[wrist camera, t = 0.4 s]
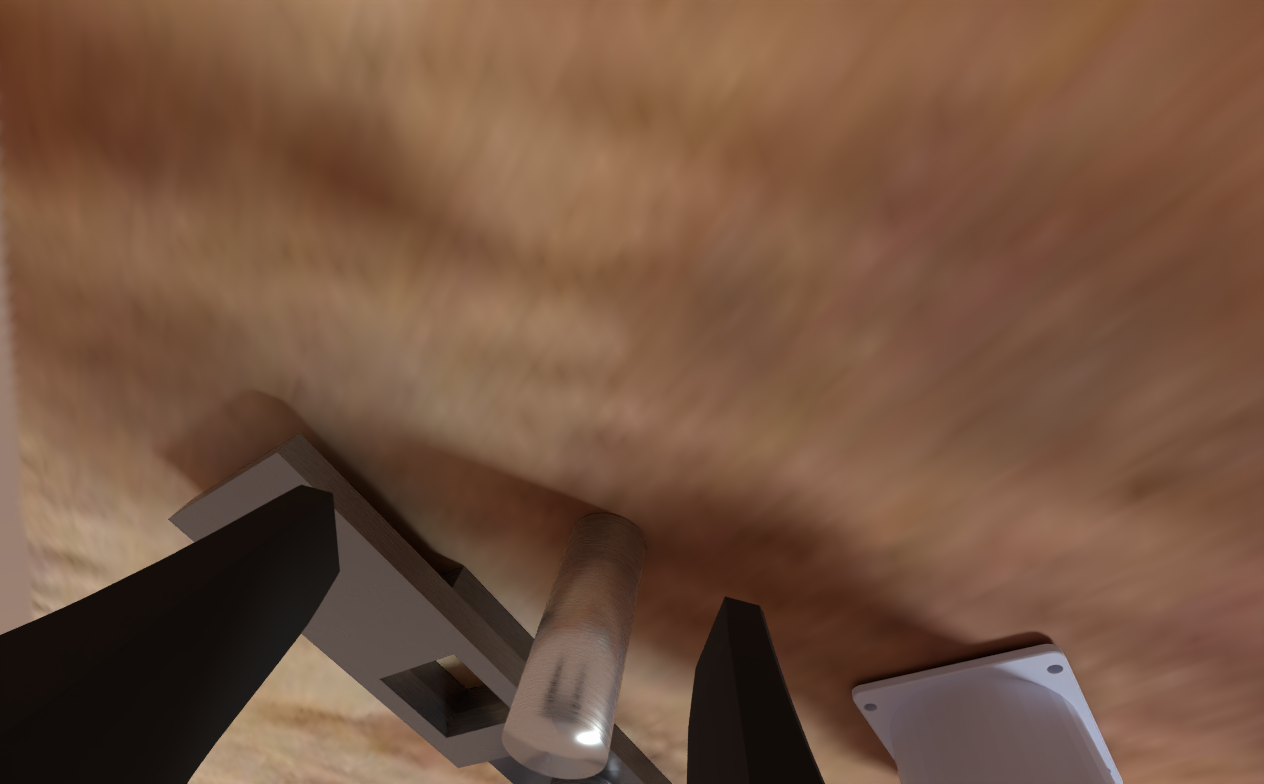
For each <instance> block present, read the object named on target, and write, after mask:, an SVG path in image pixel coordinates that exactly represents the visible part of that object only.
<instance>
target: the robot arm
mask: <svg viewBox="0 0 1264 784" xmlns="http://www.w3.org/2000/svg"><path fill="white" fill-rule="evenodd" d="M339 572H340V566H339V554H338V543H337V532H336V520H335V509H334V498H333V493H331V492H327V491H324V490H320V489H316V488H312V487H309V486H305V485H299V486H297V487H295V488H293V489H292V490H290V491H288V492H286V493H284V494H282V495H280V496H278V497H277V498H275V499H273V500H271V501H269V502H268V503H266V504H264V505H262V506H260V507H259V508H257V509H255V510H253V511H251V512H249V513H248V514H246V515H244V516H242V517H240V518H239V519H237V520H235V521H233V522H231V523H229V524H228V525H226V526H224V527H222V528H220V529H219V530H217V531H215V532H213V533H211V534H209V535H207V536H206V537H204V538H202V539H200V540H198V541H196V542H194V543H192V544H191V545H189V546H187V547H185V548H183V549H181V550H179V551H177V552H176V553H174V554H172V555H170V556H168V557H166V558H164V559H162V560H160V561H158V562H156V563H154V564H152V565H150V566H148V567H146V568H144V569H142V570H140V571H138V572H136V573H134V574H132V575H130V576H128V577H126V578H124V579H122V580H120V581H118V582H116V583H114V584H112V585H110V586H108V587H106V588H104V589H102V590H100V591H98V592H96V593H94V594H92V595H90V596H87V597H85V598H83V599H81V600H79V601H77V602H75V603H72V604H70V605H68V606H66V607H64V608H62V609H59V610H57V611H55V612H53V613H50V614H48V615H46V616H44V617H41V618H39V619H37V620H35V621H32V622H30V623H27V624H25V625H23V626H21V627H18V628H16V629H13V630H11V631H9V632H6V633H4V634H2V635H0V784H187V783H188V781H189V780H190V778H191V777H192V775H193V774H194V772H195V771H196V770H197V768H198V767H199V765H200V764H201V763H202V761H203V760H204V759H205V757H206V756H207V754H208V753H209V752H210V750H211V749H212V748H213V746H214V745H215V743H216V742H217V741H218V740H219V738H220V737H221V736H222V734H223V733H224V732H225V731H226V729H227V728H228V727H229V725H230V724H231V723H232V722H233V720H234V719H235V718H236V717H237V715H238V714H239V713H240V711H241V710H242V709H243V708H244V706H245V705H246V704H247V702H248V701H249V700H250V699H251V697H252V696H253V695H254V694H255V692H256V691H257V690H258V688H259V687H260V686H261V685H262V683H263V682H264V681H265V679H266V678H267V677H268V676H269V674H270V673H271V672H272V670H273V669H274V668H275V667H276V665H277V664H278V663H279V661H280V660H281V659H282V658H283V656H284V655H285V654H286V652H287V651H288V650H289V649H290V647H291V646H292V645H293V643H294V642H295V641H296V639H297V638H298V637H299V635H300V634H301V633H302V631H303V630H304V629H305V628H306V626H307V625H308V624H309V622H310V620H311V619H312V617H313V616H314V614H315V612H316V611H317V609H318V608H319V606H320V604H321V603H322V601H323V600H324V598H325V596H326V594H327V593H328V591H329V589H330V588H331V586H332V584H333V582H334V581H335V579H336V577H337V576H338V574H339ZM852 697H853V701H854V703H855V704H856V706H857V707H858V709H859V710H860V712H861V713H862V714H863V716H864V717H865V719H866V720H867V722H868V723H869V725H870V726H871V727H872V729H873V730H874V732H875V733H876V735H877V736H878V738H879V739H880V740H881V742H882V743H883V745H884V746H885V748H886V749H887V751H888V752H889V753H890V755H891V756H892V758H893V759H894V761H895V762H896V764H897V768H898V773H899V777H900V782H901V784H1123V781H1122V779H1121V776H1120V774H1119V772H1118V770H1117V768H1116V766H1115V763H1114V761H1113V759H1112V757H1111V755H1110V752H1109V750H1108V748H1107V746H1106V744H1105V742H1104V739H1103V737H1102V735H1101V733H1100V731H1099V729H1098V726H1097V724H1096V722H1095V720H1094V718H1093V715H1092V713H1091V711H1090V709H1089V707H1088V705H1087V702H1086V700H1085V698H1084V696H1083V694H1082V691H1081V689H1080V687H1079V685H1078V683H1077V681H1076V678H1075V676H1074V674H1073V672H1072V670H1071V667H1070V665H1069V663H1068V661H1067V659H1066V657H1065V655H1064V653H1063V651H1062V649H1061V648H1060V647H1059V646H1056V645H1054V644H1042V645H1037V646H1033V647H1028V648H1024V649H1019V650H1015V651H1010V652H1006V653H1001V654H997V655H992V656H988V657H983V658H979V659H974V660H970V661H966V662H961V663H957V664H952V665H948V666H943V667H939V668H934V669H930V670H925V671H921V672H916V673H912V674H907V675H903V676H898V677H894V678H889V679H885V680H880V681H876V682H871V683H867V684H862V685H859V686H856V687H855V688H854V689H853V690H852ZM687 784H825V783H824V780H823V778H822V776H821V773H820V771H819V769H818V766H817V764H816V761H815V759H814V757H813V754H812V752H811V749H810V747H809V744H808V742H807V739H806V736H805V734H804V731H803V729H802V726H801V724H800V721H799V718H798V716H797V713H796V711H795V708H794V705H793V703H792V700H791V697H790V694H789V692H788V689H787V686H786V683H785V680H784V677H783V674H782V671H781V668H780V665H779V663H778V659H777V656H776V653H775V650H774V647H773V644H772V641H771V637H770V634H769V631H768V627H767V624H766V620H765V617H764V613H763V611H762V609H761V608H760V606H759V605H755V604H751V603H747V602H743V601H740V600H736V599H732V598H728V597H725V598H724V600H723V603H722V605H721V608H720V610H719V612H718V615H717V617H716V620H715V622H714V625H713V627H712V629H711V632H710V634H709V637H708V639H707V641H706V644H705V646H704V649H703V651H702V654H701V656H700V658H699V661H698V663H697V666H696V670H695V678H694V685H693V693H692V701H691V709H690V718H689V727H688V760H687Z"/></svg>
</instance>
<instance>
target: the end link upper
mask: <svg viewBox="0 0 1264 784" xmlns="http://www.w3.org/2000/svg"><path fill="white" fill-rule="evenodd" d="M299 485H305V486H309V487H312V488H316V489H320V490H324V491H327V492H331V493H333V498H334V509H335V520H336V532H337V543H338V554H339V566H340V572H339V574H338V576H337V577H336V579H335V581H334V582H333V584H332V586H331V588H330V589H329V591H328V593H327V594H326V596H325V598H324V600H323V601H322V603H321V604H320V606H319V608H318V609H317V611H316V612H315V614H314V616H313V617H312V619H311V620H310V622H309V624H308V625H307V626H306V628H305V629H304V630H303V631H302V633H301V634H302V635H304V636H305V637H306V638H307V639H308V640H309V641H311V642H312V643H313V644H314V645H315V646H316V647H318V648H319V649H320V650H321V651H322V652H323V653H325V654H326V655H327V656H328V657H329V658H330V659H332V660H333V661H334V662H335V663H336V664H337V665H339V666H340V667H341V668H342V669H343V670H344V671H346V672H347V673H348V674H349V675H350V676H351V677H353V678H354V679H355V680H356V681H357V682H358V683H360V684H361V685H362V686H363V687H364V688H365V689H367V690H368V691H369V692H370V693H371V694H372V695H374V696H375V697H376V698H377V699H378V700H379V701H381V702H382V703H383V704H384V705H385V706H386V707H388V708H389V709H390V710H391V711H392V712H393V713H395V714H396V715H397V716H398V717H399V718H400V719H402V720H403V721H404V722H405V723H406V724H407V725H409V726H410V727H411V728H412V729H413V730H414V731H416V732H417V733H418V734H419V735H420V736H421V737H423V738H424V739H425V740H426V741H427V742H428V743H430V744H431V745H432V746H433V747H434V748H435V749H437V750H438V751H439V752H440V753H441V754H442V755H444V756H445V757H446V758H447V759H448V760H449V761H451V762H452V763H453V764H454V765H455V766H456V767H458V768H461V767H465V766H469V765H474V764H478V763H482V762H487V761H491V760H495V759H500V758H504V757H509V756H511V755H510V754H509V753H508V752H507V750H506V749H505V747H504V745H503V742H502V732H503V729H504V726H505V723H506V721H507V718H508V715H509V712H510V709H511V706H512V703H513V700H514V697H515V694H516V691H517V689H518V686H519V683H520V680H521V677H522V674H523V671H524V668H525V665H526V663H525V662H524V661H523V660H522V659H521V658H520V657H519V656H518V655H517V653H516V652H515V651H514V650H513V649H512V648H511V647H510V646H509V645H508V644H507V643H506V642H505V641H504V640H503V639H502V638H501V637H500V636H499V635H498V634H497V633H496V632H495V631H494V630H493V629H492V628H491V627H490V626H489V625H488V624H487V623H486V622H485V621H484V620H483V619H482V618H481V617H480V616H479V615H478V614H477V613H476V612H475V611H474V610H473V609H472V608H471V607H470V606H469V605H468V604H467V603H466V602H465V601H464V600H463V599H462V598H461V597H460V596H459V594H458V593H457V592H456V591H455V590H454V589H453V588H452V587H451V586H450V585H449V584H448V583H447V582H446V581H445V580H444V579H443V578H442V577H441V576H440V575H439V574H438V573H437V572H436V571H435V570H434V569H433V568H432V567H431V566H430V565H429V564H428V563H427V562H426V561H425V560H424V559H423V558H422V557H421V556H420V555H419V554H418V553H417V552H416V551H415V550H414V549H413V548H412V547H411V546H410V545H409V544H408V543H407V542H406V541H405V540H404V539H403V538H402V537H401V536H400V534H399V533H398V532H397V531H396V530H395V529H394V528H393V527H392V526H391V525H390V524H389V523H388V522H387V521H386V520H385V519H384V518H383V517H382V516H381V515H380V514H379V513H378V512H377V511H376V510H375V509H374V508H373V507H372V506H371V505H370V504H369V503H368V502H367V501H366V500H365V499H364V498H363V497H362V496H361V495H360V494H359V493H358V492H357V491H356V490H355V489H354V488H353V487H352V486H351V485H350V484H349V483H348V482H347V481H346V480H345V479H344V478H343V477H342V475H341V474H340V473H339V472H338V471H337V470H336V469H335V468H334V467H333V466H332V465H331V464H330V463H329V462H328V461H327V460H326V459H325V458H324V457H323V456H322V455H321V454H320V453H319V452H318V451H317V450H316V449H315V448H314V447H313V446H312V445H311V444H310V443H309V442H308V441H307V440H306V439H305V438H304V437H303V436H302V435H301V434H300V433H299V434H297V435H295V436H294V437H292V438H291V439H289V440H287V441H286V442H284V443H282V444H281V445H279V446H278V447H276V448H274V449H273V450H271V451H270V452H268V453H266V454H265V455H263V456H261V457H260V458H258V459H257V460H255V461H253V462H252V463H250V464H248V465H247V466H245V467H244V468H242V469H240V470H239V471H237V472H236V473H234V474H232V475H231V476H229V477H227V478H226V479H224V480H223V481H221V482H219V483H218V484H216V485H215V486H213V487H211V488H210V489H208V490H206V491H205V492H203V493H202V494H200V495H198V496H197V497H195V498H194V499H192V500H191V501H190V502H188V503H187V504H186V505H185V506H184V507H182V508H181V509H180V510H179V511H177V512H176V513H175V514H174V515H173V516H171V517H170V518H169V519H168V520H169V521H171V522H172V523H173V524H174V525H175V526H176V527H178V528H179V529H180V530H181V531H182V532H183V533H185V534H186V535H187V536H188V537H189V538H190V539H192V540H193V541H194V542H196V541H198V540H200V539H202V538H204V537H206V536H207V535H209V534H211V533H213V532H215V531H217V530H219V529H220V528H222V527H224V526H226V525H228V524H229V523H231V522H233V521H235V520H237V519H239V518H240V517H242V516H244V515H246V514H248V513H249V512H251V511H253V510H255V509H257V508H259V507H260V506H262V505H264V504H266V503H268V502H269V501H271V500H273V499H275V498H277V497H278V496H280V495H282V494H284V493H286V492H288V491H290V490H292V489H293V488H295V487H297V486H299ZM453 654H454V655H455V656H456V657H457V658H458V659H459V660H460V661H462V662H463V663H464V664H465V665H466V666H467V667H468V668H469V669H470V670H471V671H472V672H473V673H474V674H475V675H476V676H477V677H478V678H479V679H480V680H481V681H482V682H483V683H484V684H486V685H487V686H488V687H489V688H490V689H491V690H492V691H493V692H494V693H495V694H496V695H497V696H498V697H499V698H500V699H501V700H502V701H500V702H496V703H493V704H489V705H485V706H482V707H478V708H475V709H471V710H467V711H464V712H460V713H456V712H455V711H454V710H453V709H452V708H450V707H449V706H448V705H447V704H446V703H445V702H444V701H443V700H442V699H441V698H439V697H438V696H437V695H436V694H435V693H434V692H433V691H432V690H431V689H430V688H428V687H427V686H426V685H425V684H424V683H423V682H422V681H421V680H420V679H418V678H417V677H416V676H415V675H414V674H413V673H412V672H411V671H410V670H409V669H411V668H414V667H417V666H420V665H423V664H426V663H429V662H432V661H435V660H438V659H441V658H444V657H447V656H450V655H453Z"/></svg>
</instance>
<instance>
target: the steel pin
mask: <svg viewBox="0 0 1264 784" xmlns="http://www.w3.org/2000/svg"><path fill="white" fill-rule="evenodd" d="M645 551H646V541H645V538H644V536H643V534H642V532H641V531H640V530H639V529H638V527H637V526H635V525H634V524H633V523H632V522H630V521H629V520H627V519H625V518H623V517H621V516H618V515H614V514H609V513H595V514H591V515H588V516H585V517H583V518H582V519H580V520H579V521H578V522H577V523H576V524H575V525H574V527H573V529H572V532H571V534H570V537H569V540H568V543H567V546H566V549H565V552H564V555H563V558H562V561H561V564H560V566H559V569H558V572H557V575H556V578H555V581H554V584H553V587H552V590H551V593H550V595H549V598H548V601H547V604H546V607H545V610H544V613H543V616H542V619H541V622H540V625H539V627H538V630H537V633H536V636H535V639H534V642H533V645H532V648H531V651H530V654H529V657H528V659H527V662H526V665H525V668H524V671H523V674H522V677H521V680H520V683H519V686H518V689H517V691H516V694H515V697H514V700H513V703H512V706H511V709H510V712H509V715H508V718H507V721H506V723H505V726H504V729H503V732H502V742H503V745H504V747H505V749H506V750H507V752H508V753H509V754H510V755H511V756H512V757H513V758H514V759H515V760H516V761H517V762H519V763H520V764H522V765H523V766H525V767H527V768H529V769H531V770H533V771H535V772H537V773H540V774H543V775H546V776H550V777H554V778H560V779H583V778H588V777H591V776H594V775H596V774H598V773H599V772H601V771H602V770H603V769H604V767H605V766H606V764H607V760H608V755H609V749H610V744H611V738H612V733H613V727H614V722H615V716H616V711H617V705H618V700H619V694H620V689H621V683H622V678H623V672H624V667H625V661H626V656H627V650H628V645H629V639H630V634H631V628H632V623H633V617H634V612H635V606H636V601H637V595H638V590H639V584H640V579H641V573H642V568H643V562H644V557H645Z"/></svg>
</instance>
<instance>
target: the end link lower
mask: <svg viewBox="0 0 1264 784" xmlns="http://www.w3.org/2000/svg"><path fill="white" fill-rule="evenodd" d="M441 577H442V578H443V579H444V580H445V581H446V582H447V583H448V584H449V585H450V586H451V587H452V588H453V589H454V590H455V591H456V592H457V593H458V594H459V596H460V597H461V598H462V599H463V600H464V601H465V602H466V603H467V604H468V605H469V606H470V607H471V608H472V609H473V610H474V611H475V612H476V613H477V614H478V615H479V616H480V617H481V618H482V619H483V620H484V621H485V622H486V623H487V624H488V625H489V626H490V627H491V628H492V629H493V630H494V631H495V632H496V633H497V634H498V635H499V636H500V637H501V638H502V639H503V640H504V641H505V642H506V643H507V644H508V645H509V646H510V647H511V648H512V649H513V650H514V651H515V652H516V653H517V655H518V656H519V657H520V658H521V659H522V660H523V661H524V662H525V663H526V662H527V659H528V657H529V654H530V651H531V648H532V645H533V642H534V639H533V638H532V637H531V636H530V635H529V634H528V633H527V632H526V631H525V630H524V629H523V628H522V627H521V626H520V624H519V623H518V622H517V621H516V620H515V619H514V618H513V617H512V616H511V615H510V614H509V613H508V612H507V611H506V610H505V609H504V608H503V607H502V606H501V605H500V604H499V602H498V601H497V600H496V599H495V598H494V597H493V596H492V595H491V594H490V593H489V592H488V591H487V590H486V589H485V588H484V587H483V586H482V585H481V584H480V583H479V581H478V580H477V579H476V578H475V577H474V576H473V575H472V574H471V573H470V572H469V571H468V570H467V569H466V568H465V567H464V566H463V567H461V568H459V569H456V570H454V571H451V572H449V573H446V574H444V575H441ZM409 670H410V671H411V672H412V673H413V674H414V675H415V676H416V677H417V678H418V679H420V680H421V681H422V682H423V683H424V684H425V685H426V686H427V687H428V688H430V689H431V690H432V691H433V692H434V693H435V694H436V695H437V696H438V697H439V698H441V699H442V700H443V701H444V702H445V703H446V704H447V705H448V706H449V707H450V708H452V709H453V710H454V711H455V712H456V713H460V712H464V711H467V710H471V709H475V708H478V707H482V706H485V705H489V704H493V703H496V702H500V701H502V700H501V699H500V698H499V697H498V696H497V695H496V694H495V693H494V692H493V691H492V690H491V689H490V688H489V687H488V686H487V685H484V686H480V687H477V688H473V689H470V690H466V689H465V688H464V687H462V686H461V685H460V684H459V683H458V682H457V681H456V680H455V679H454V678H453V677H452V676H451V675H450V674H449V673H447V672H446V671H445V670H444V669H443V668H442V667H441V666H440V665H439V664H438V663H437V662H436V661H432V662H429V663H426V664H423V665H420V666H417V667H414V668H411V669H409ZM488 762H489V763H491V764H492V765H493V766H494V767H495V768H496V769H497V770H498V771H500V772H501V773H502V774H503V775H504V776H505V777H506V778H507V779H509V780H510V781H511V782H512V783H513V784H671V783H670V782H669V781H668V780H667V779H666V778H665V777H664V775H663V774H662V773H661V772H660V771H659V770H658V769H657V768H656V767H655V766H654V765H653V764H652V763H651V762H650V761H649V760H648V759H647V758H646V757H645V756H644V754H643V753H642V752H641V751H640V750H639V749H638V748H637V747H636V746H635V745H634V744H633V743H632V742H631V741H630V740H629V739H628V738H627V737H626V736H625V735H624V734H623V732H622V731H621V730H620V729H619V728H618V727H617V726H616V725H615V724H614V727H613V733H612V738H611V744H610V749H609V755H608V760H607V764H606V766H605V767H604V769H603V770H602V771H601V772H599V773H598V774H596V775H594V776H591V777H588V778H583V779H560V778H554V777H550V776H546V775H543V774H540V773H537V772H535V771H533V770H531V769H529V768H527V767H525V766H523V765H522V764H520V763H519V762H517V761H516V760H515V759H514V758H513V757H512V756H509V757H504V758H500V759H495V760H491V761H488Z"/></svg>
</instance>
